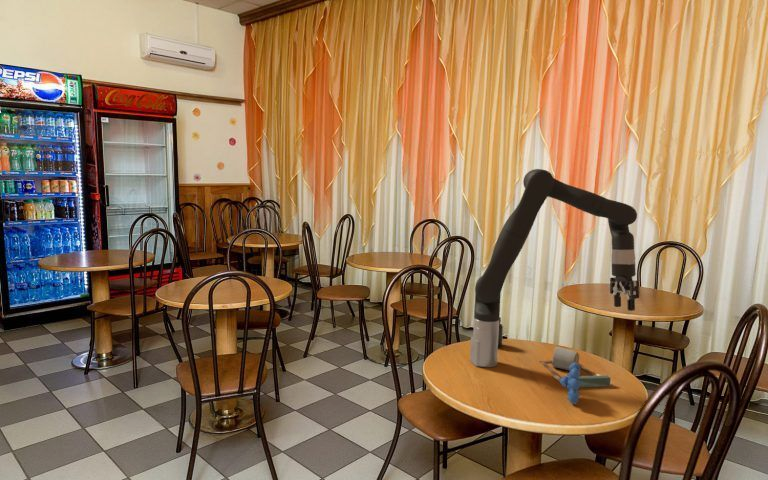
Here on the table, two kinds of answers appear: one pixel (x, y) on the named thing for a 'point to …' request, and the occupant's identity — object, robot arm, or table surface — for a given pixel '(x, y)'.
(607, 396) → the table surface
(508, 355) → the table surface
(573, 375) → the grapes
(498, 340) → the supplement bottle
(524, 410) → the table surface
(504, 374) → the table surface
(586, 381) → the bay
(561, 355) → the ceramic mug
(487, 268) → the robot arm
